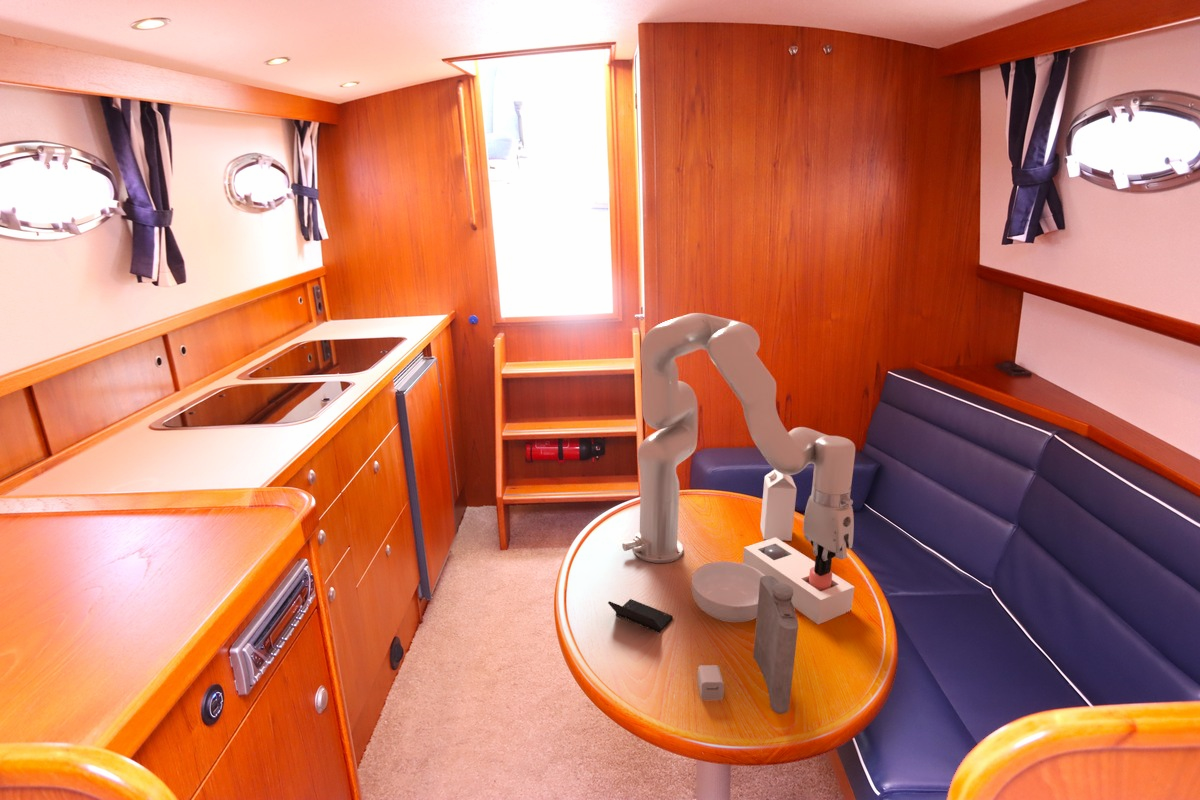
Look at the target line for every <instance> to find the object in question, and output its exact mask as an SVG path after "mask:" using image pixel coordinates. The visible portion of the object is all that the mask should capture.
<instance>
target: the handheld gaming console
mask: <svg viewBox="0 0 1200 800" xmlns="http://www.w3.org/2000/svg"><path fill="white" fill-rule="evenodd" d="M607 604H608V605H609V606H610V607H611V609H613V612H615V616H616V617H619V618H621V619H624V620H627V621H629V622H631V623H633V624H637V625H639V626H641V627H643V628H646V629H647V628H648V629H649V630H651V631H652V632H655V633H656V634H661V633H662V631H663V630H664V629H665V628H667V627H668V625H669V624H670V623H671V622H672V621H673V618H674V615H672V614H671V613H670V614H669V613H667V612H664V611H662V610H660V609H657V608H654V607H652V606H649V605H647V604H644V603H642V602H639V601H638V600H634V599H632V598H630V599H629V600H628V601H626V602H625V603H624V605H620V604H617V603H615V602H612V601H608V602H607Z"/></svg>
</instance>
